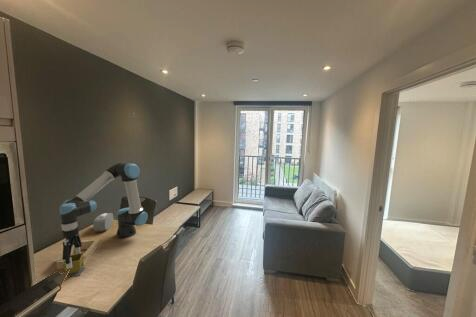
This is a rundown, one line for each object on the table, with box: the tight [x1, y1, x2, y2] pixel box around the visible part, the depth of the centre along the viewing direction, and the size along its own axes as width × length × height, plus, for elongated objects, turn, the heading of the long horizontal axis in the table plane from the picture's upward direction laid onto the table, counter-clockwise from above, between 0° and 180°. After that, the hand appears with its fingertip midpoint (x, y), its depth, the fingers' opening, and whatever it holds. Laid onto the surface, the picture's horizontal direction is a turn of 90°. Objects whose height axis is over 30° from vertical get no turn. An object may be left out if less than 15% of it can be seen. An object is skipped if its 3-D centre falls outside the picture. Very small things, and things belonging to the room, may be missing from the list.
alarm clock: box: [92, 212, 114, 232], centre depth 189 cm, size 21×10×13 cm, turn 14°
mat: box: [65, 266, 86, 279], centre depth 127 cm, size 9×8×1 cm
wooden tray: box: [52, 238, 100, 270], centre depth 143 cm, size 19×28×6 cm
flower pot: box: [62, 252, 84, 274], centre depth 126 cm, size 9×9×9 cm
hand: (74, 262), depth 126 cm, fingers open, 11 cm apart
